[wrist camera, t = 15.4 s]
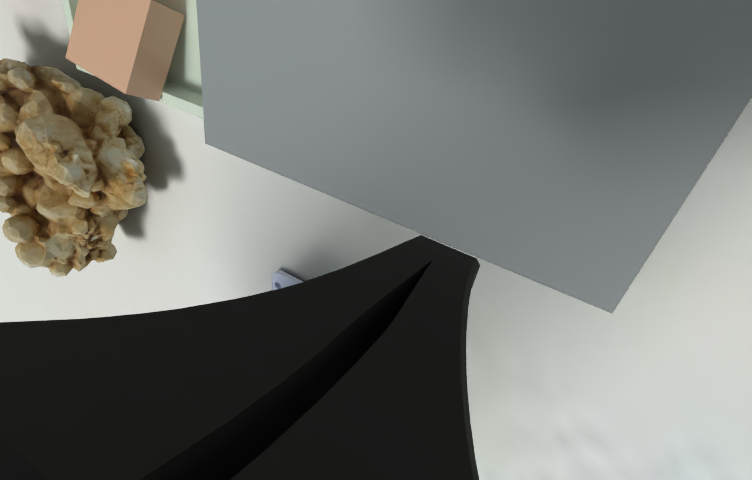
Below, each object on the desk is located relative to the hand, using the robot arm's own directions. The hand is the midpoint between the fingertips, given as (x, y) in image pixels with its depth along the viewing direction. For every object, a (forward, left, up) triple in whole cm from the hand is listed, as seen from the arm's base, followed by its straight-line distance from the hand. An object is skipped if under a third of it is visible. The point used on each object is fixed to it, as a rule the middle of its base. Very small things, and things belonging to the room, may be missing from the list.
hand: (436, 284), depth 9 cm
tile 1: (0, +20, -8) cm, 22 cm away
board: (+3, +5, -10) cm, 12 cm away
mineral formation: (-9, +29, -11) cm, 32 cm away
